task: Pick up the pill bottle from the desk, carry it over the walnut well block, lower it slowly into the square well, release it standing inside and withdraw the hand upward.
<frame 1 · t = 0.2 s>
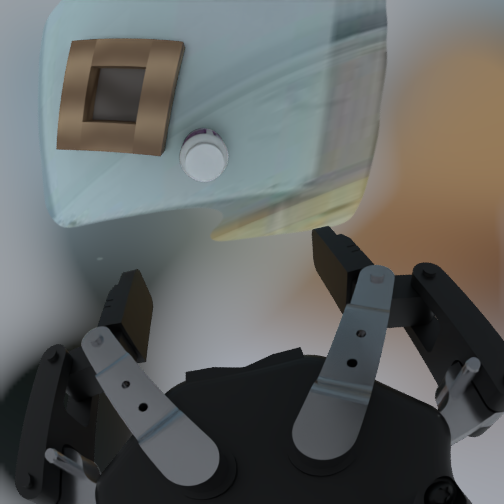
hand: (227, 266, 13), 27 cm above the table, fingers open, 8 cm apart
well block: (121, 94, 30), on the table
pill bottle: (203, 147, 36), on the table
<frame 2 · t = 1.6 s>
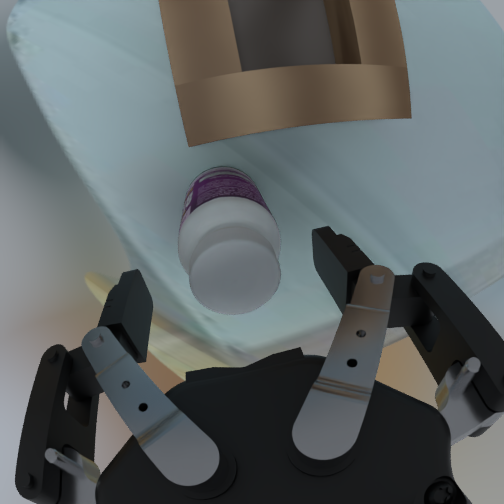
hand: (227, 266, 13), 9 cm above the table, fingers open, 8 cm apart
well block: (277, 25, 14), on the table
pill bottle: (221, 201, 21), on the table
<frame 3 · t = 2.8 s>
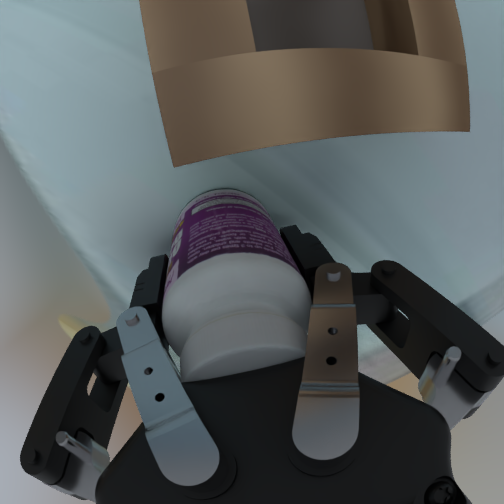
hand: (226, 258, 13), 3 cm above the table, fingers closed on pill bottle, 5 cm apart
pill bottle: (222, 232, 16), on the table, touching gripper
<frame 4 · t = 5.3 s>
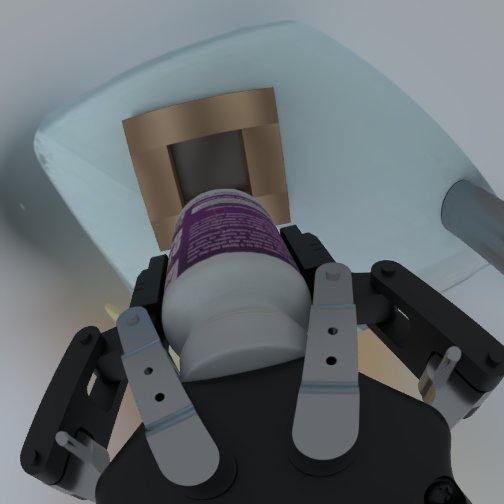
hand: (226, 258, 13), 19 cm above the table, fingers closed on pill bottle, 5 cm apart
well block: (209, 162, 30), on the table
pill bottle: (222, 232, 16), point 16 cm above the table, touching gripper
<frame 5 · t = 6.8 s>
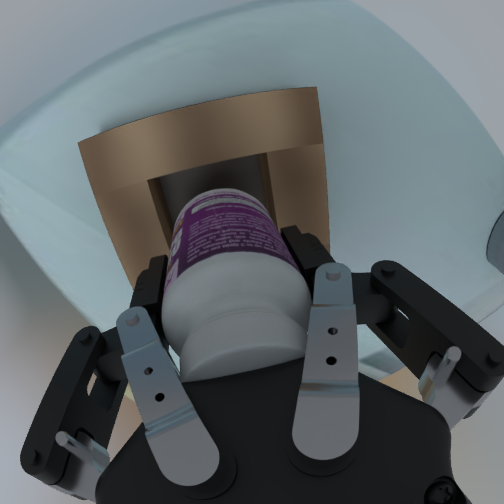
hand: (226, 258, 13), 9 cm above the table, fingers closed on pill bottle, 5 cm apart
well block: (215, 198, 21), on the table
pill bottle: (222, 232, 16), point 6 cm above the table, touching gripper
when the fingers open (5 cm above the table, at t = 8.0 s): pill bottle drops 2 cm, resting on well block.
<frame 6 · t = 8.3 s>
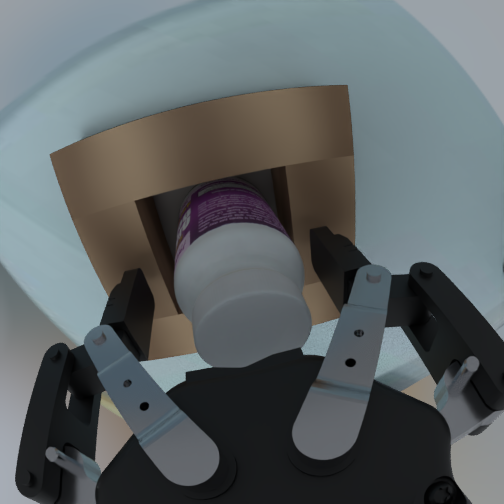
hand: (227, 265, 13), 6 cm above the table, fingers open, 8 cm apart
well block: (219, 216, 18), on the table
pill bottle: (222, 216, 17), resting on well block
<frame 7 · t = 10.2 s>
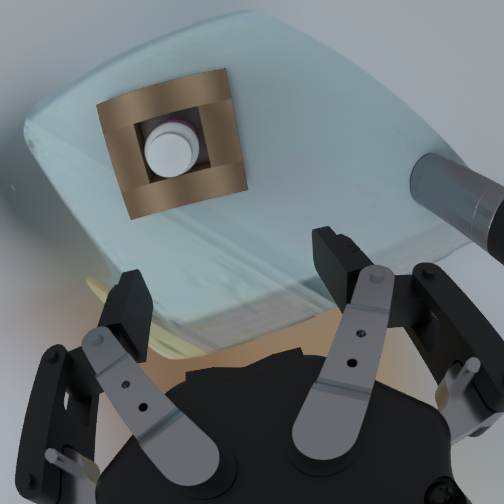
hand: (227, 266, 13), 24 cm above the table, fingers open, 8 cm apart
well block: (174, 140, 31), on the table
pill bottle: (176, 139, 31), resting on well block
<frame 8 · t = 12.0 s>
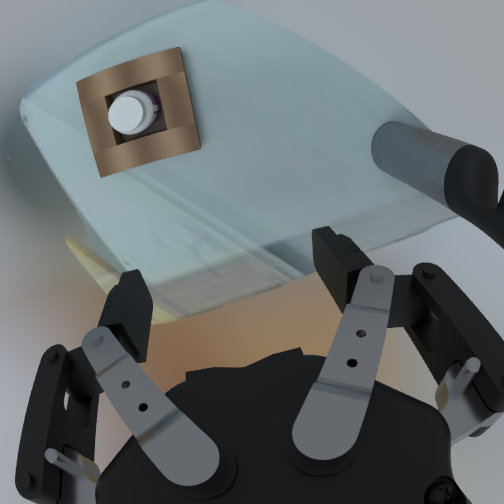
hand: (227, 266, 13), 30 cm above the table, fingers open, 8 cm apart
well block: (141, 110, 34), on the table
pill bottle: (142, 109, 34), resting on well block
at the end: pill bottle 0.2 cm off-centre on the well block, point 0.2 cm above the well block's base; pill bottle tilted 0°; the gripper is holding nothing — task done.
